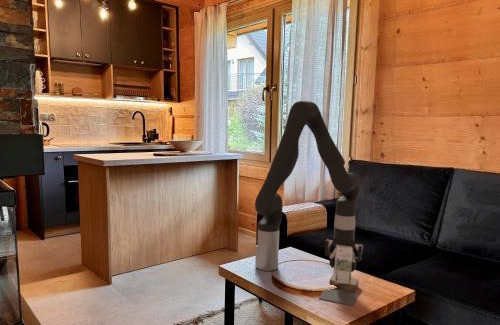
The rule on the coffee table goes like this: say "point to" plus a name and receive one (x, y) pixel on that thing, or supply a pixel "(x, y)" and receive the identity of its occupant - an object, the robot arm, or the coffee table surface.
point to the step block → (346, 285)
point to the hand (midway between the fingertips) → (342, 269)
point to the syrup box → (342, 264)
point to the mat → (339, 296)
